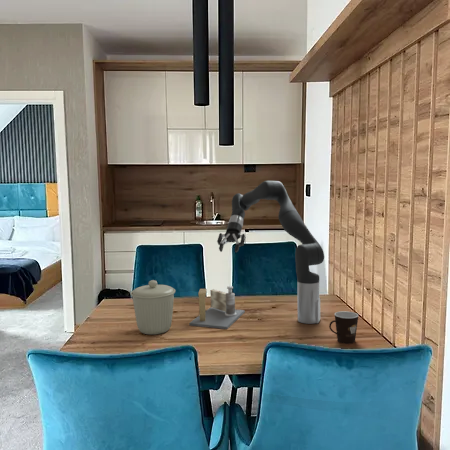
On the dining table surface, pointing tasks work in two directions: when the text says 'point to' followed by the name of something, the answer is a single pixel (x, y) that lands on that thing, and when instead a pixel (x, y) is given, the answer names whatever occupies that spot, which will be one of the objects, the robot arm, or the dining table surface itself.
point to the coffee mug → (345, 326)
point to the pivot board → (218, 317)
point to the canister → (153, 307)
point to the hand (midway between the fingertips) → (228, 251)
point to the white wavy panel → (223, 301)
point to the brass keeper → (202, 304)
